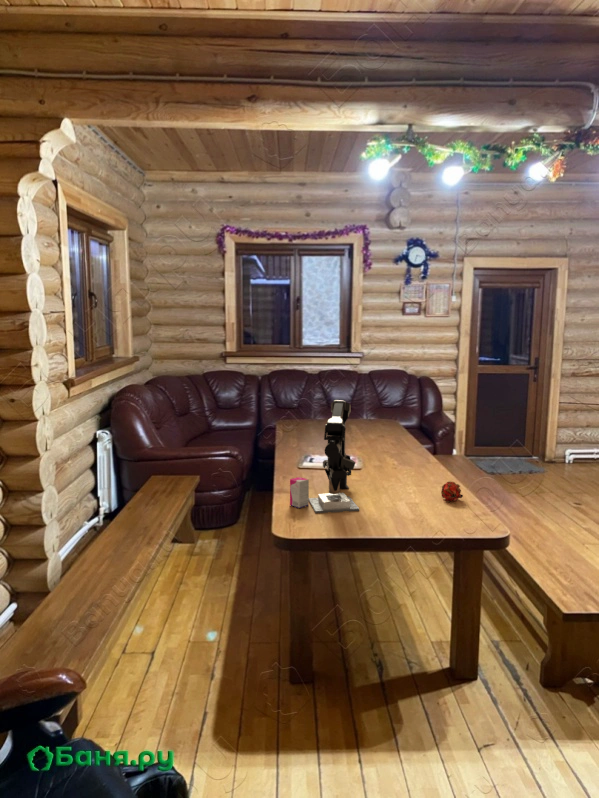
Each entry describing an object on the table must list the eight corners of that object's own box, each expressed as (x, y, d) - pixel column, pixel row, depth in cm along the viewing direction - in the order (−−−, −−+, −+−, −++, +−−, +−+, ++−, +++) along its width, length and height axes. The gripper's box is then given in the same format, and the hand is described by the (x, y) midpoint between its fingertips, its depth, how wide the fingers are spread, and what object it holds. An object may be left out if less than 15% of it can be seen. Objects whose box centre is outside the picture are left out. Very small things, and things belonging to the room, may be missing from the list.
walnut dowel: (327, 491, 232) (328, 474, 231) (338, 490, 233) (338, 474, 232) (330, 494, 228) (330, 477, 227) (340, 493, 229) (340, 477, 228)
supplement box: (309, 505, 232) (309, 479, 231) (298, 509, 228) (299, 482, 227) (299, 502, 237) (299, 476, 235) (289, 505, 232) (289, 479, 231)
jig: (308, 500, 239) (308, 491, 238) (349, 498, 242) (349, 489, 241) (315, 513, 223) (315, 503, 223) (359, 510, 226) (359, 501, 226)
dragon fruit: (449, 498, 247) (454, 511, 235) (434, 487, 246) (438, 500, 235) (462, 484, 244) (467, 497, 233) (447, 473, 244) (452, 485, 232)
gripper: (359, 457, 220) (359, 495, 222) (348, 446, 238) (347, 481, 241) (332, 458, 218) (331, 496, 221) (322, 446, 236) (322, 482, 239)
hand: (334, 488), depth 230 cm, fingers closed on walnut dowel, 4 cm apart
